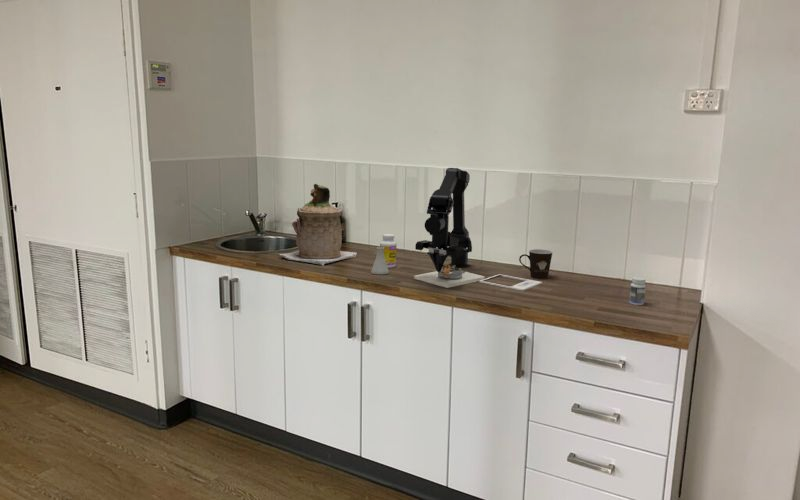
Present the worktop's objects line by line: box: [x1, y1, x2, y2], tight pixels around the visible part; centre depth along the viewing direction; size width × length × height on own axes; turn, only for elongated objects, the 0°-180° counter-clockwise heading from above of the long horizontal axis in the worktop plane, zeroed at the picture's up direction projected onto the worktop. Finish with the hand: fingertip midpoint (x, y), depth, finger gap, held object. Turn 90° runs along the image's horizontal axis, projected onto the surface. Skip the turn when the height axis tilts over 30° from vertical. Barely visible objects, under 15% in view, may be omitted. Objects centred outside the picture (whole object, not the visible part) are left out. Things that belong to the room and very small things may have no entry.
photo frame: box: [478, 273, 543, 292], centre depth 226 cm, size 15×1×18 cm
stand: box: [413, 268, 486, 289], centre depth 229 cm, size 20×17×2 cm
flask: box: [370, 246, 390, 275], centre depth 237 cm, size 7×7×10 cm
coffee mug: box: [518, 248, 554, 280], centre depth 235 cm, size 12×9×10 cm
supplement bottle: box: [379, 233, 398, 269], centre depth 248 cm, size 7×7×13 cm
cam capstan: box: [438, 264, 463, 279], centre depth 227 cm, size 16×9×6 cm, turn 164°
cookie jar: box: [278, 183, 358, 267], centre depth 260 cm, size 25×25×32 cm
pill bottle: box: [628, 276, 647, 306], centre depth 201 cm, size 5×5×8 cm
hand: (438, 271), depth 222 cm, fingers closed
